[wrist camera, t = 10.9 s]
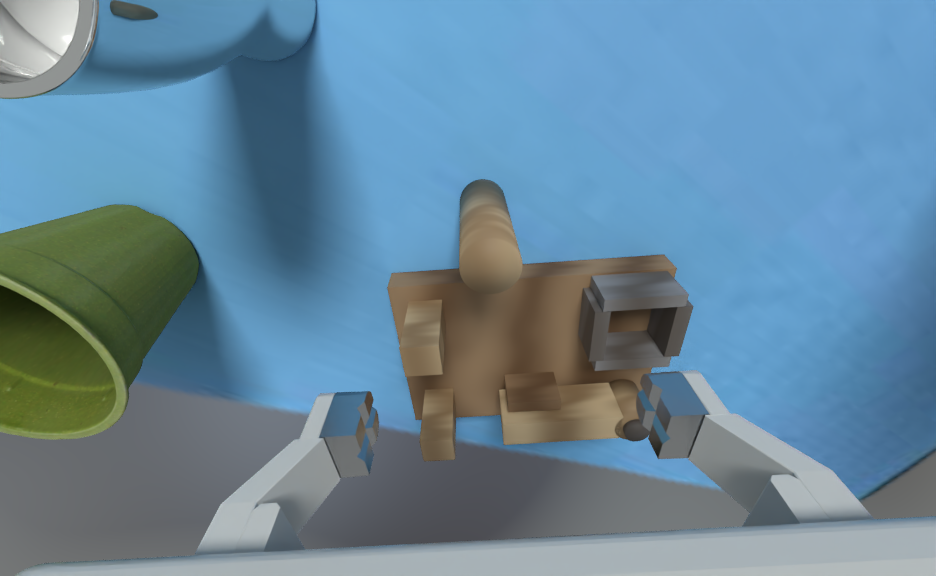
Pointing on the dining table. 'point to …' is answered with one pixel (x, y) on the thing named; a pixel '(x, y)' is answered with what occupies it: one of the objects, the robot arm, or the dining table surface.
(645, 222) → the dining table surface
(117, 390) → the plant pot
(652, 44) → the dining table surface
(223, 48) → the beer glass
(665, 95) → the dining table surface
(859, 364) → the dining table surface
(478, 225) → the oak leg peg
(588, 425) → the hinged leg
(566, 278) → the wooden assembly base board
